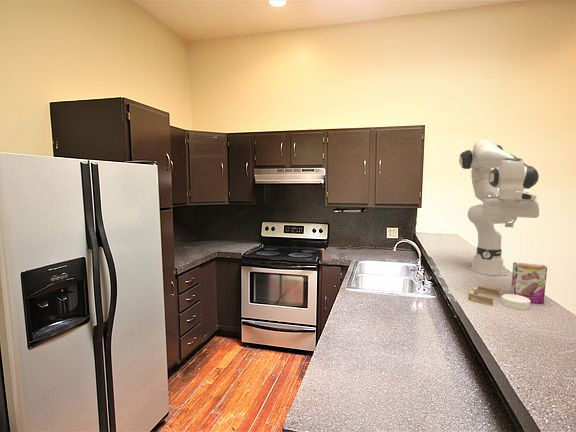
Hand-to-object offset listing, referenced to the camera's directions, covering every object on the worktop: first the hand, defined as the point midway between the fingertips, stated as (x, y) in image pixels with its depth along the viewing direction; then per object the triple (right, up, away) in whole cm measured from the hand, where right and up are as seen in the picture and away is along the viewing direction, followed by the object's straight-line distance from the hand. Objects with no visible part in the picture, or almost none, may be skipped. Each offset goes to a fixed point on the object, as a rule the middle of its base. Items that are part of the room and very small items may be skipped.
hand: (509, 227), depth 139 cm
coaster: (-1, -33, -5) cm, 34 cm away
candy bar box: (+7, -33, 0) cm, 33 cm away
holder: (-9, -32, +3) cm, 33 cm away
